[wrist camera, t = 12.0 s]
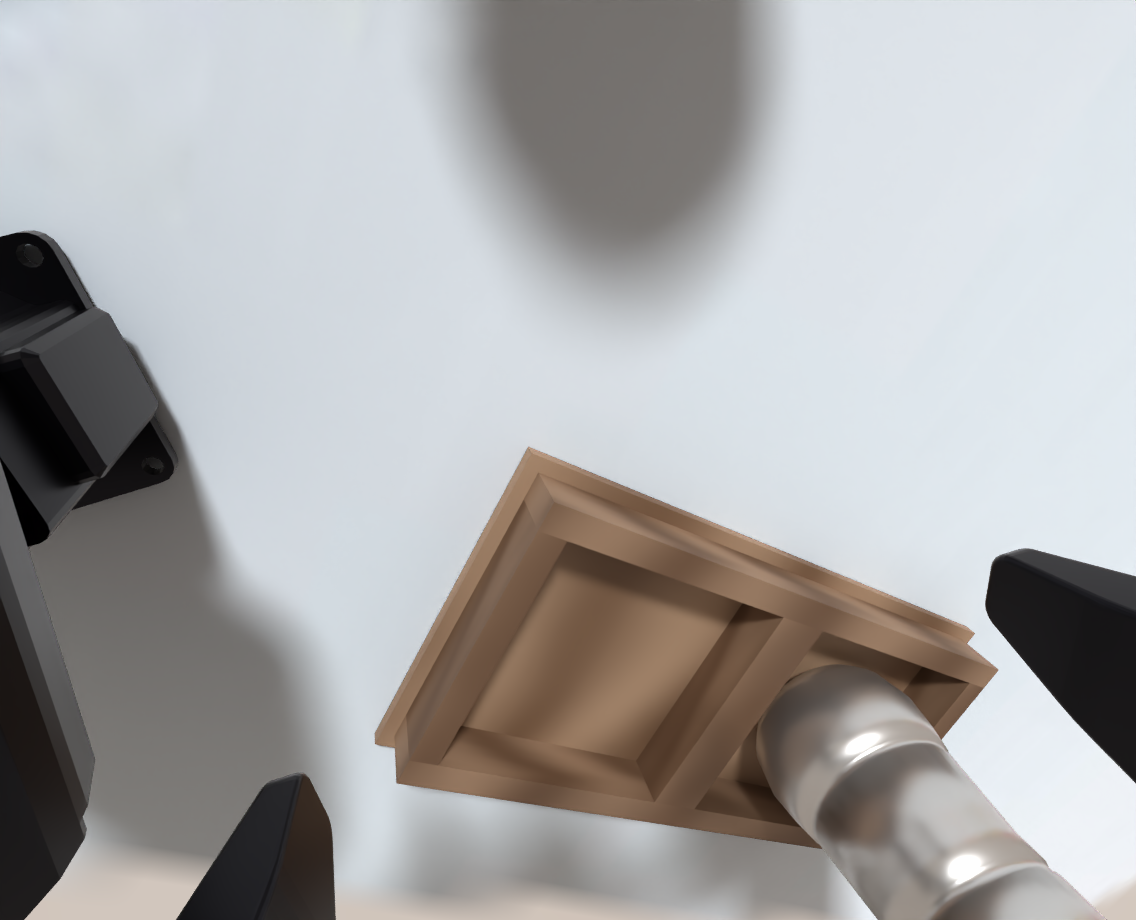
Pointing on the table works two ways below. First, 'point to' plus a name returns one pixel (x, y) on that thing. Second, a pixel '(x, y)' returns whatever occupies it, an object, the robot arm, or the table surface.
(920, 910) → the silver metal bottle
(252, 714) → the table surface
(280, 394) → the table surface
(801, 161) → the table surface
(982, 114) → the table surface
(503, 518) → the wooden divided tray
